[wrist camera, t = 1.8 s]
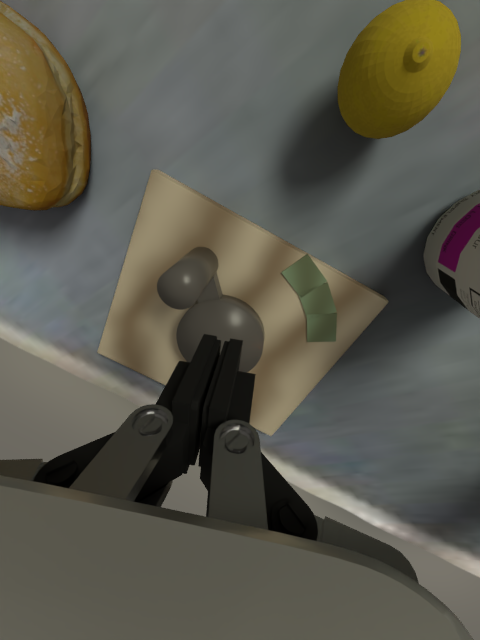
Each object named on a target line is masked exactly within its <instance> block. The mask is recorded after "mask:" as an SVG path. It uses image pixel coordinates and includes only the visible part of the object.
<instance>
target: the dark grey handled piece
mask: <svg viewBox="0 0 480 640" xmlns="http://www.w3.org/2000/svg"><path fill="white" fill-rule="evenodd" d="M217 269H218V259H217V256H216V255H215V253H214V252H213V251H212V250H210V249H209V248H206V247H196V248H194V249H192V250H191V251H190V252H188V253H187V254H186V255H185V256H184V257H182V258H181V259H180V260H179V261H178V262H176V263H175V264H174V265H173V266H172V267H170V268H169V269H168V270H167V271H166V272H164V273H163V274H162V275H161V276H160V278H159V279H158V282H157V291H158V294H159V297H160V298H161V300H162V301H163V302H164V303H165V304H166V305H168V306H169V307H171V308H174V309H178V310H183V309H187V308H189V309H188V310H187V312H186V313H185V314H184V316H183V317H182V319H181V320H180V322H179V324H178V327H177V333H176V339H177V344H178V348H179V350H180V352H181V354H182V356H183V357H184V358H185V360H186V361H187V362H191V360H192V358H193V356H194V354H195V352H196V349H197V347H198V345H199V343H200V341H201V339H202V337H203V335H204V334H208V335H214V336H217V340H221V349H220V354H221V351H222V348H223V345H224V342H225V341H230V338H231V339H237V340H243V345H242V352H241V358H240V365H239V371H241V372H249V371H250V370H251V369H253V368H254V367H255V366H256V364H257V363H258V362H259V360H260V358H261V355H262V352H263V345H264V338H265V332H264V326H263V323H262V321H261V319H260V317H259V315H258V314H257V312H256V311H255V310H254V309H253V308H252V307H251V306H250V305H248V304H247V303H246V302H244V301H242V300H240V299H238V298H236V297H233V296H229V295H223V294H222V290H221V287H220V283H219V279H218V276H217Z"/></svg>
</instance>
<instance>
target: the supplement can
mask: <svg viewBox="0 0 480 640" xmlns="http://www.w3.org/2000/svg"><path fill="white" fill-rule="evenodd" d="M423 258H424V263H425V268H426V273H427V274H428V275H429V277H430V278H431V279H432V281H433V282H434V283H435V285H436V286H438V287H439V288H440V289H442V290H443V291H444V292H445V293H447V294H448V295H449V296H451V297H452V298H453V299H455V300H456V301H457V302H459V303H460V304H461V305H463V306H464V307H465V308H466V309H468V310H469V311H470V312H472V313H473V314H474V315H476V316H477V317H478V318H480V190H478V191H476V192H474V193H472V194H470V195H468V196H467V197H465V198H463V199H461V200H459V201H457V202H456V203H455V204H454V205H453V206H452V207H451V208H449V209H448V210H447V211H446V212H445V213H444V214H443V215H442V216H441V217H440V218H439V219H438V221H437V222H436V224H435V226H434V227H433V229H432V231H431V232H430V234H429V236H428V237H427V241H426V246H425V250H424V255H423Z"/></svg>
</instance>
